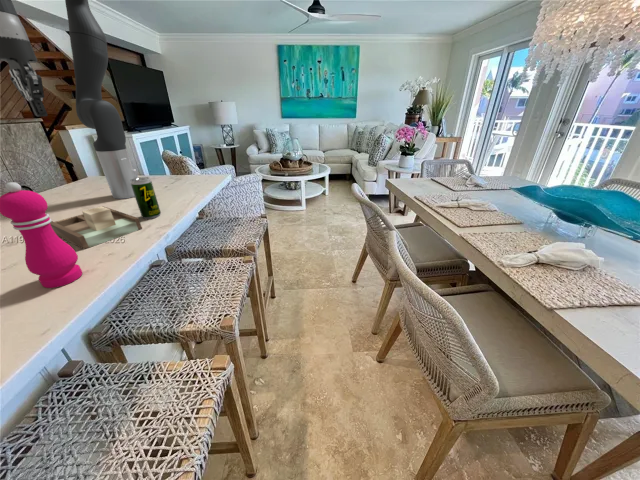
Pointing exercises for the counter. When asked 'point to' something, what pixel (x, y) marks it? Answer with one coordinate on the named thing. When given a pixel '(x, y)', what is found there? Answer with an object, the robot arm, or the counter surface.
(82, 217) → the box
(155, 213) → the beer can
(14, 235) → the counter surface
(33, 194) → the pepper mill
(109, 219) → the maple block
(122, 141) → the robot arm
